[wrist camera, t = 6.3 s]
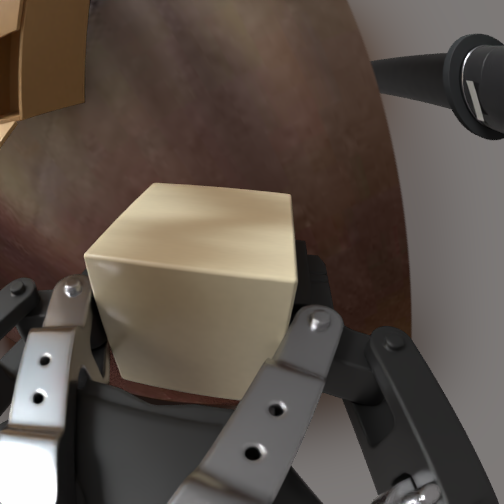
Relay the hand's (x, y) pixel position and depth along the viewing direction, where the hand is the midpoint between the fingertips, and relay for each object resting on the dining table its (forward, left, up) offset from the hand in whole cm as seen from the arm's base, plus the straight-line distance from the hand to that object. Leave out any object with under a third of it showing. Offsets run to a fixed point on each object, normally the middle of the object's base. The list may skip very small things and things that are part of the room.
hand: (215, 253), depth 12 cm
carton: (+6, -25, -18) cm, 31 cm away
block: (0, 0, 0) cm, 0 cm away
